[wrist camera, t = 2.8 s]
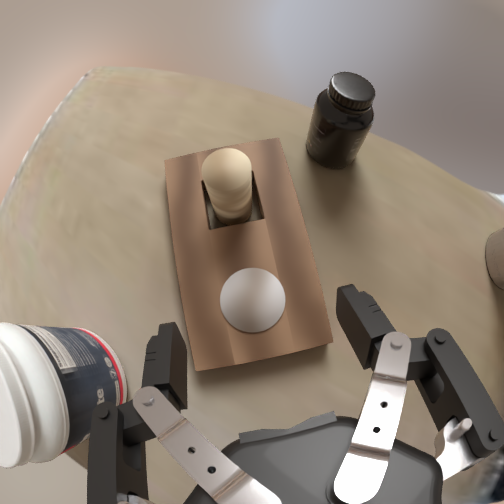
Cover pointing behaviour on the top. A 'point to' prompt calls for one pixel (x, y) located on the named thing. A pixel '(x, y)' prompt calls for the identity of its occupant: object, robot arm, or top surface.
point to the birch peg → (229, 185)
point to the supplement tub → (52, 389)
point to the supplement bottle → (341, 120)
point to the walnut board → (245, 266)
